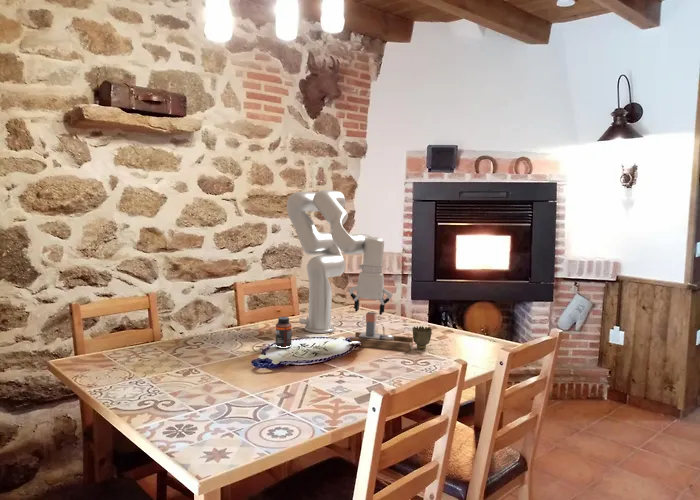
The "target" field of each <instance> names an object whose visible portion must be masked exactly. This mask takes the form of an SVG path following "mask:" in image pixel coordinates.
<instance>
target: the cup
mask: <svg viewBox="0 0 700 500" xmlns="http://www.w3.org/2000/svg"><path fill="white" fill-rule="evenodd" d="M411 329H412V337H413V343H414V344H415V345H416V349H418V350H426V348H427V345H428V344H430V342H431V338H432V332H433V329H432V328H431V326H425V327H424V326H421V325H420V326H413V327H412V328H411Z"/></svg>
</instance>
